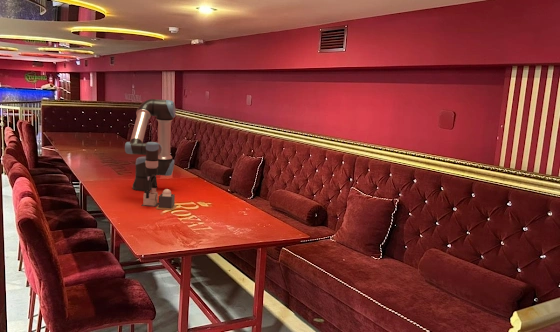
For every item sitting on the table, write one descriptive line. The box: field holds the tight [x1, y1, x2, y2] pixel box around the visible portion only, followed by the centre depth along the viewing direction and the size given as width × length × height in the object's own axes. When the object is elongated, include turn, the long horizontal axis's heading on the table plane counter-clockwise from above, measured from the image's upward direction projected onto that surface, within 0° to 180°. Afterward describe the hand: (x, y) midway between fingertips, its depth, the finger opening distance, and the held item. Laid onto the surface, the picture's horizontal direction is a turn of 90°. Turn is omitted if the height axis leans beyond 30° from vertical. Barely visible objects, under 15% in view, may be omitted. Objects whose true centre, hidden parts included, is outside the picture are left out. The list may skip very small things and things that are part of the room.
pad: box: [141, 203, 158, 208], centre depth 294 cm, size 9×9×1 cm
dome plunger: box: [162, 188, 172, 197], centre depth 289 cm, size 5×5×10 cm
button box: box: [155, 193, 177, 211], centre depth 289 cm, size 10×10×8 cm
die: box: [142, 191, 159, 206], centre depth 294 cm, size 7×7×7 cm
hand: (150, 200), depth 294 cm, fingers open, 13 cm apart
